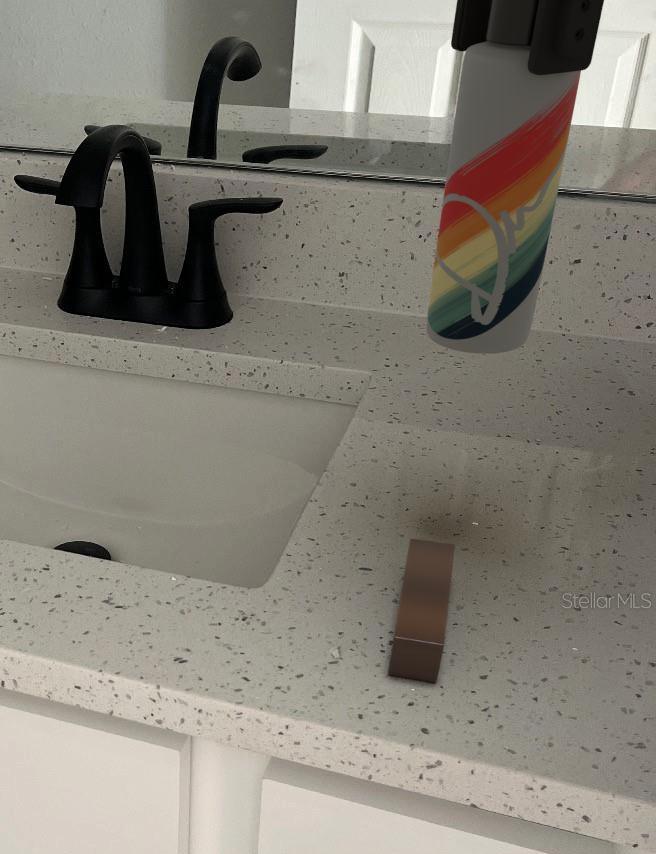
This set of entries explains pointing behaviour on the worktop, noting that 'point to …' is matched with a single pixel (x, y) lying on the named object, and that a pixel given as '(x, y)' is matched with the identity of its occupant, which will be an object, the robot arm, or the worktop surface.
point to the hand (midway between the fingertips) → (517, 55)
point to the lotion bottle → (499, 188)
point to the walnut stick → (422, 611)
